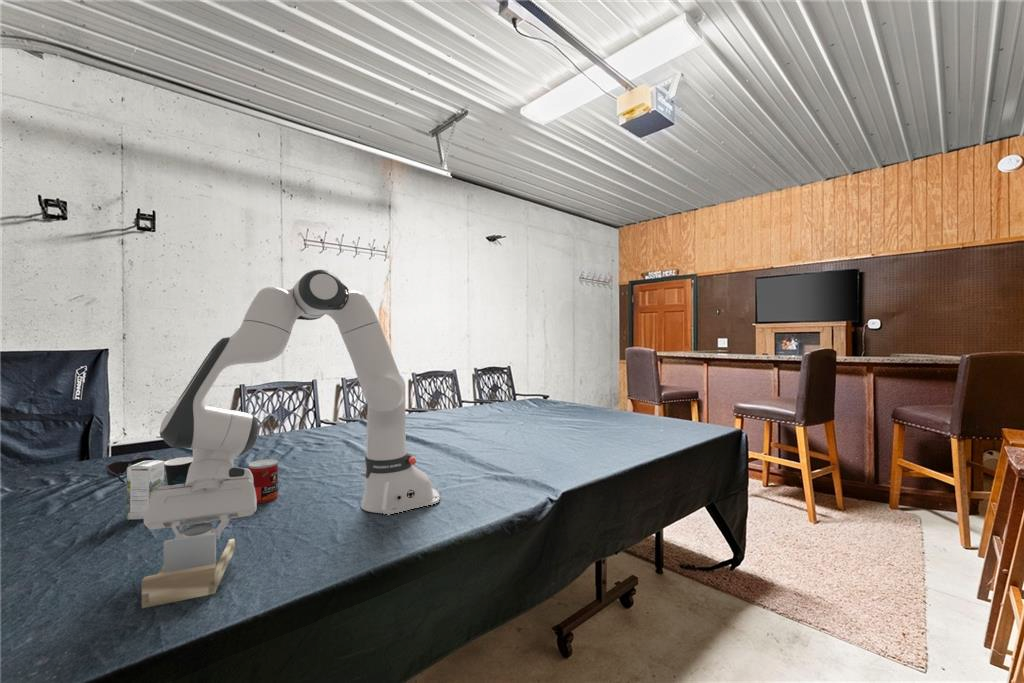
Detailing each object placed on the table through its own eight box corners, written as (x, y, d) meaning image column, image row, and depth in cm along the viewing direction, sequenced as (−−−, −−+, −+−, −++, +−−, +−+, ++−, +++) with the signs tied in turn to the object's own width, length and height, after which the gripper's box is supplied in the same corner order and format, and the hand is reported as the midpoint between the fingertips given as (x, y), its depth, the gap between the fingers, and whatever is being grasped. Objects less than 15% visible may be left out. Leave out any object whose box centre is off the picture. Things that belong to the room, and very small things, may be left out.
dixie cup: (176, 502, 126) (175, 465, 126) (157, 499, 129) (157, 463, 129) (202, 492, 134) (202, 458, 134) (184, 490, 136) (184, 456, 136)
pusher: (165, 580, 84) (165, 540, 84) (216, 571, 87) (215, 532, 87) (163, 583, 83) (163, 542, 83) (215, 573, 86) (214, 534, 86)
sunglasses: (153, 468, 160) (153, 455, 160) (166, 476, 151) (166, 462, 151) (104, 477, 150) (103, 463, 149) (115, 487, 140) (114, 472, 140)
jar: (215, 552, 93) (215, 521, 93) (209, 563, 89) (209, 530, 89) (187, 557, 91) (187, 525, 91) (180, 569, 87) (179, 535, 87)
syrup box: (142, 511, 119) (142, 460, 119) (165, 510, 120) (164, 459, 120) (126, 520, 114) (125, 466, 114) (149, 519, 114) (149, 465, 114)
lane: (176, 559, 93) (176, 536, 93) (234, 549, 98) (234, 527, 98) (141, 608, 76) (141, 580, 76) (214, 593, 81) (214, 567, 81)
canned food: (265, 504, 124) (264, 467, 124) (241, 502, 126) (241, 465, 126) (284, 495, 132) (283, 459, 132) (261, 493, 133) (261, 458, 133)
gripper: (149, 480, 92) (130, 545, 83) (257, 468, 100) (251, 526, 91) (157, 493, 96) (140, 557, 87) (260, 481, 104) (254, 538, 96)
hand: (197, 541), depth 89 cm, fingers closed on jar, 5 cm apart
